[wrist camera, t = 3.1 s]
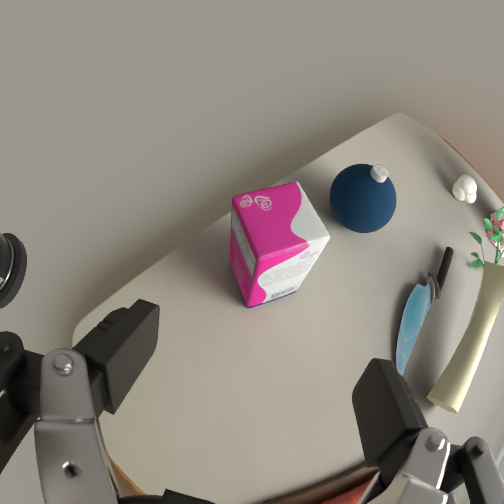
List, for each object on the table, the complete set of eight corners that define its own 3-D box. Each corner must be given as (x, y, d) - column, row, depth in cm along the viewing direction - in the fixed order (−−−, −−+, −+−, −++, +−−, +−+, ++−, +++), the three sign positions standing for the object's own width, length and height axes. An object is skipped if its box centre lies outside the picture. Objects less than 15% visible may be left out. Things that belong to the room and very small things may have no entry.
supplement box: (275, 246, 32) (300, 178, 21) (296, 292, 29) (335, 240, 19) (227, 260, 30) (231, 193, 20) (246, 310, 28) (260, 263, 18)
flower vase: (390, 383, 32) (467, 209, 39) (448, 418, 26) (513, 238, 33) (412, 382, 22) (488, 167, 29) (485, 425, 16) (541, 203, 23)
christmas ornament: (386, 218, 35) (422, 173, 27) (361, 257, 32) (403, 211, 23) (340, 183, 37) (366, 131, 29) (309, 216, 34) (334, 159, 25)
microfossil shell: (451, 183, 42) (466, 166, 37) (469, 202, 41) (484, 186, 36) (447, 193, 41) (463, 175, 36) (465, 213, 39) (482, 196, 34)
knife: (371, 365, 26) (398, 385, 26) (380, 364, 25) (407, 385, 24) (429, 234, 34) (449, 254, 34) (435, 229, 33) (456, 251, 32)
